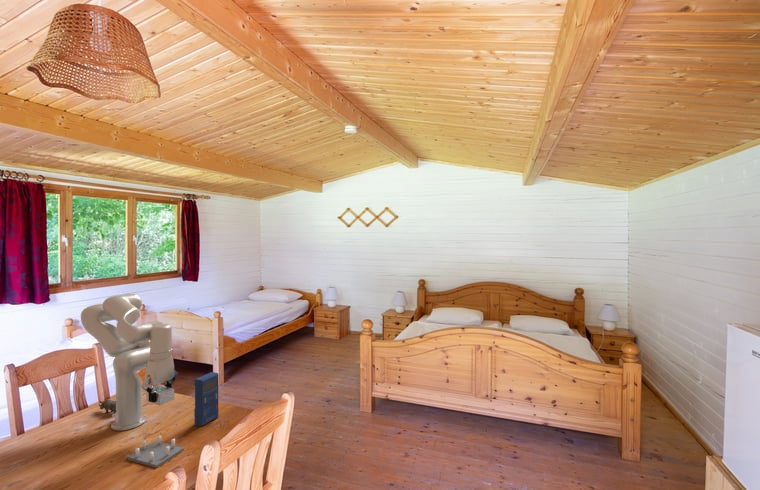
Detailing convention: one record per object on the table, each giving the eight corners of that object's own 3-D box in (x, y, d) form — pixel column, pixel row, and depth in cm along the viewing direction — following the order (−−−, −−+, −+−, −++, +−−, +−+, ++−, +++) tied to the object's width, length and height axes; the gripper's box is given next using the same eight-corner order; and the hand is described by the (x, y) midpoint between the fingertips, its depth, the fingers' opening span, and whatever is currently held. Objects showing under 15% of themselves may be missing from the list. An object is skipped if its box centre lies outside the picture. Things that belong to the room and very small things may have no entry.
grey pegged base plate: (126, 459, 128) (126, 448, 128) (154, 443, 139) (154, 433, 139) (156, 468, 123) (156, 456, 123) (183, 450, 134) (183, 440, 134)
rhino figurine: (104, 408, 168) (104, 395, 168) (124, 412, 164) (124, 399, 164) (94, 412, 164) (94, 399, 164) (115, 416, 160) (115, 403, 160)
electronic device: (202, 427, 151) (202, 380, 151) (193, 424, 153) (193, 378, 153) (219, 417, 160) (219, 373, 160) (211, 415, 162) (211, 371, 161)
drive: (146, 400, 144) (146, 389, 144) (160, 395, 150) (161, 384, 150) (159, 405, 140) (159, 394, 140) (174, 399, 146) (174, 388, 146)
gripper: (172, 348, 154) (172, 388, 154) (133, 360, 138) (133, 405, 138) (185, 350, 152) (185, 391, 152) (147, 362, 135) (146, 409, 136)
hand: (160, 397), depth 145 cm, fingers closed on drive, 6 cm apart
